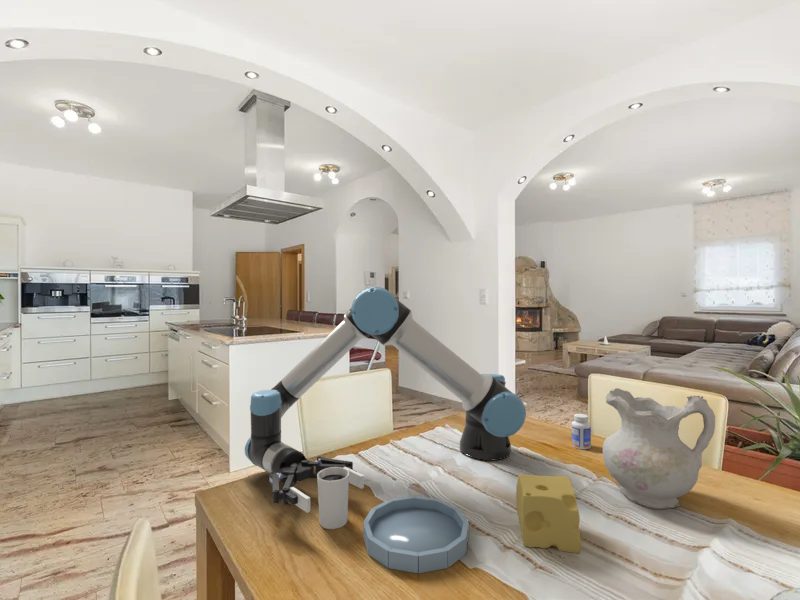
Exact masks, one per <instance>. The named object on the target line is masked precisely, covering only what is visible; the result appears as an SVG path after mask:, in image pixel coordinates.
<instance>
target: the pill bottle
mask: <svg viewBox="0 0 800 600" xmlns="http://www.w3.org/2000/svg"><path fill="white" fill-rule="evenodd" d="M573 419H574V420H573V421H572V422H571V446H572V447H573V448H575V449H578V450H589V449H591V446H592V440H591V439H592V434H591V433H592V429H591V428H592V426H591V425H592V424H591V423H590V422H589V416H588V414H585V413H575V414H574V415H573Z"/></svg>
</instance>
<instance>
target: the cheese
mask: <svg viewBox="0 0 800 600" xmlns="http://www.w3.org/2000/svg"><path fill="white" fill-rule="evenodd" d="M515 489H516V491H515V492H516V493H515V501H516V502H515V503H516V505H515V506H516V513H517V517H518V523H519V526H520V530H521V536H522V537H521V538H522V542H523V543H522V544H523V546H524V547H525V546H530V547H529V548H534V547H540V548H539V549H549V548H550V547H555V548H556V549H557V550H558V551H562V552H568V553H573V554H580V552H581V548H582V539H581V538H582V537H581V534H580V514H579V509H578V504H577V497H576V493H575V490H574V488H573V484H572V481H571V478H569V476H566V475H563V476H562V475H555V476H554V475H553V476H552V475H534V474H523V473H522V474H521V473H519V474H518V477H517V482H516V487H515Z"/></svg>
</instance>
